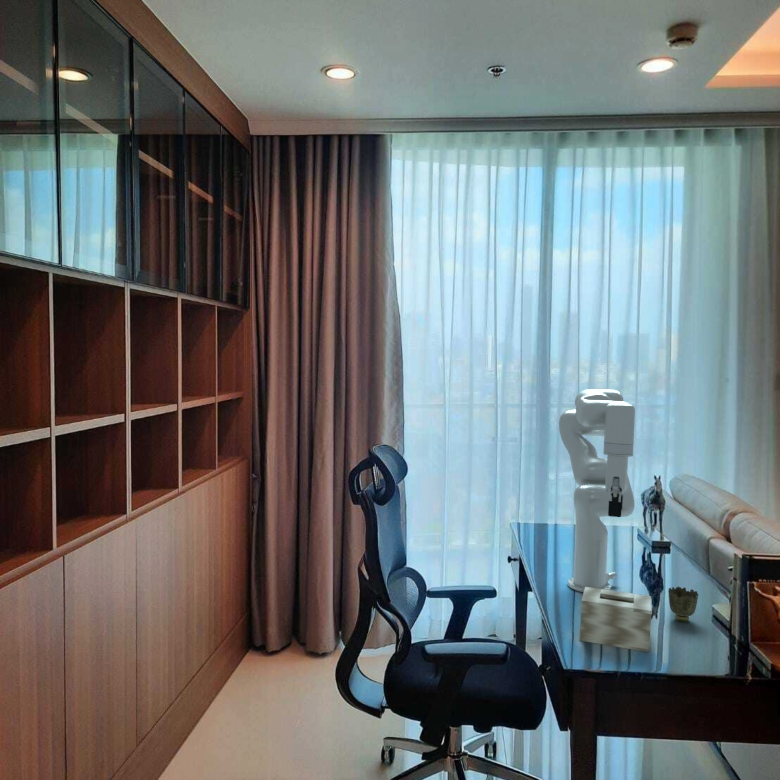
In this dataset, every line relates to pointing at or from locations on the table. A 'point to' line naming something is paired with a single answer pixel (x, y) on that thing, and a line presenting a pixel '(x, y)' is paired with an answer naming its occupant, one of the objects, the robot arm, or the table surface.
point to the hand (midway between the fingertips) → (615, 512)
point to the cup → (682, 603)
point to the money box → (616, 619)
